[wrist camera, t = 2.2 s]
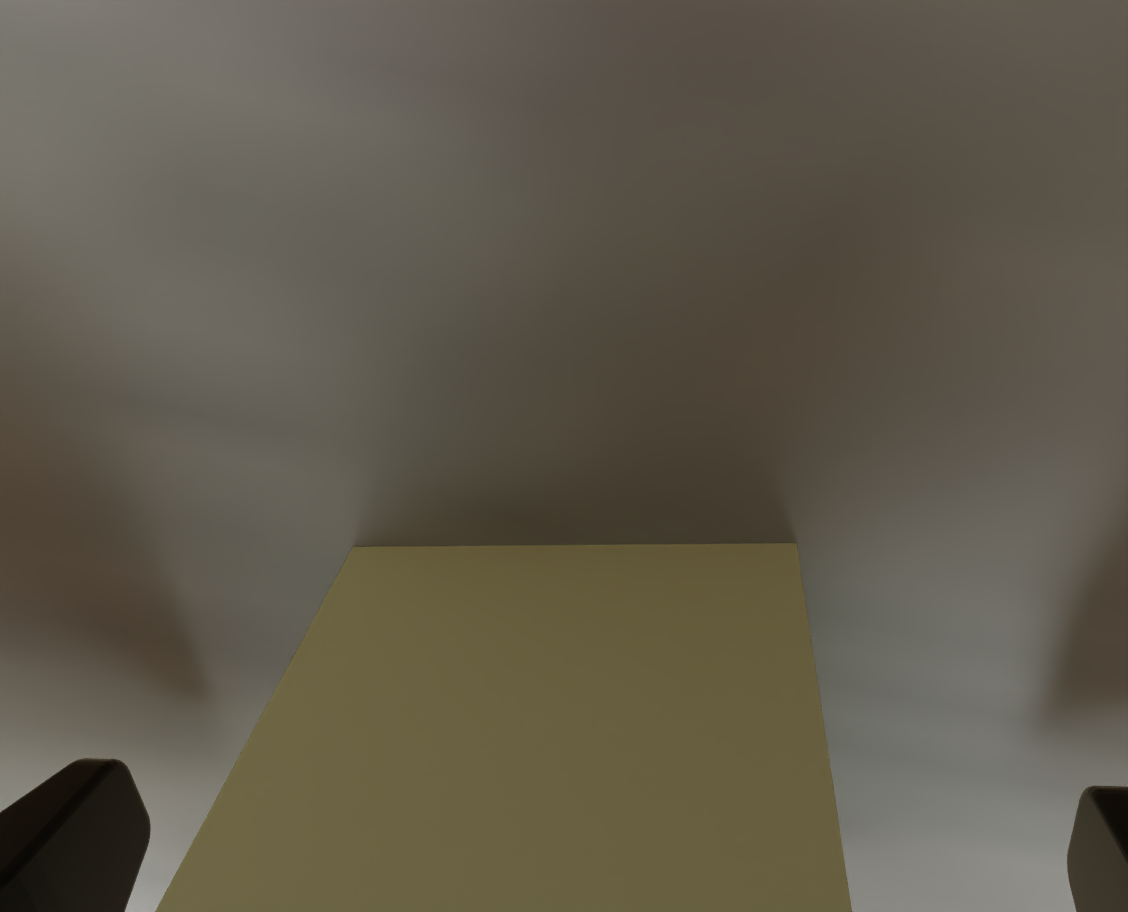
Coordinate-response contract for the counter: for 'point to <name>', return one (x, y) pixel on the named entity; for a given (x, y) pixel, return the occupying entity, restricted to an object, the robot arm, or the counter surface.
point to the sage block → (537, 742)
